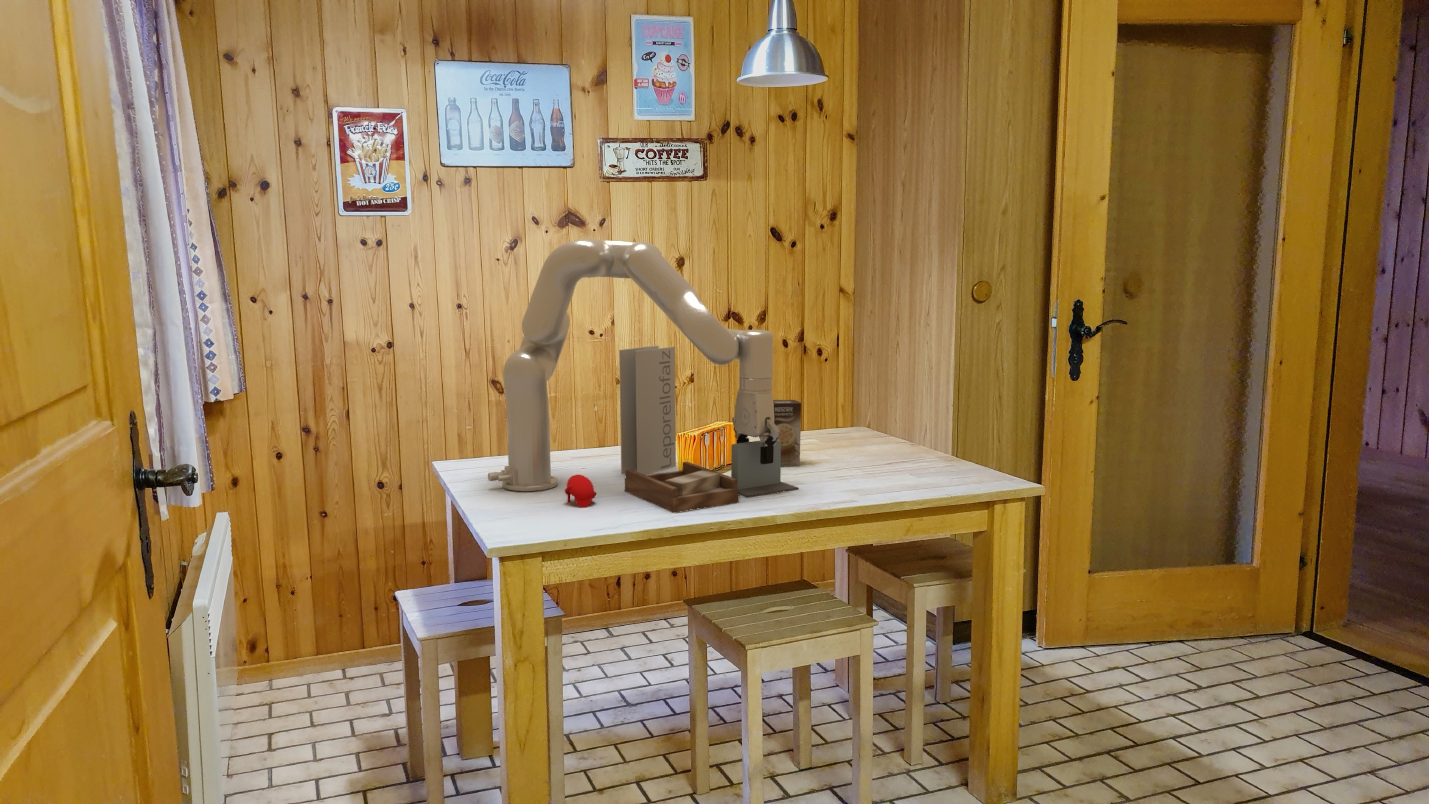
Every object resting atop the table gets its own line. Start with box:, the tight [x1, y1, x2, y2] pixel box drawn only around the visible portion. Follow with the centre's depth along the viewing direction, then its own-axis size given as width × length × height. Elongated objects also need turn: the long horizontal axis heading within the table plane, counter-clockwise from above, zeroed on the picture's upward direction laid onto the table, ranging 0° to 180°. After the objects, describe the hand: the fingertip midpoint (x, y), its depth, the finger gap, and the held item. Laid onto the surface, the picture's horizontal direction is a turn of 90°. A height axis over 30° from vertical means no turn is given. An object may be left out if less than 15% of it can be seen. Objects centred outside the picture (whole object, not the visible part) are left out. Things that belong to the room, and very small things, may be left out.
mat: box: [739, 481, 799, 498], centre depth 235 cm, size 14×14×1 cm
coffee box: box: [765, 399, 802, 467], centre depth 258 cm, size 9×6×16 cm
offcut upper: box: [665, 470, 720, 496], centre depth 221 cm, size 12×5×3 cm, turn 139°
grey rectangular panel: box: [730, 439, 782, 490], centre depth 234 cm, size 12×2×10 cm, turn 123°
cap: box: [564, 474, 597, 508], centre depth 221 cm, size 8×6×6 cm
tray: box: [624, 461, 740, 513], centre depth 226 cm, size 16×22×5 cm
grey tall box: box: [618, 344, 677, 475], centre depth 251 cm, size 14×6×30 cm, turn 143°
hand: (754, 459), depth 234 cm, fingers open, 9 cm apart
